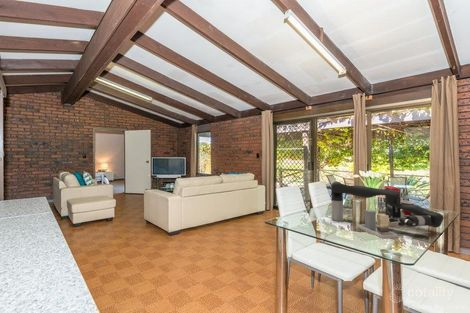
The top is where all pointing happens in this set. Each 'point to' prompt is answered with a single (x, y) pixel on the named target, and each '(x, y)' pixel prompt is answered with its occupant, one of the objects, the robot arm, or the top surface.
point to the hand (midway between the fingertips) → (394, 222)
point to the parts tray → (374, 232)
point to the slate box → (370, 219)
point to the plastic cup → (407, 204)
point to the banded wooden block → (382, 224)
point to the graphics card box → (390, 209)
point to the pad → (366, 236)
